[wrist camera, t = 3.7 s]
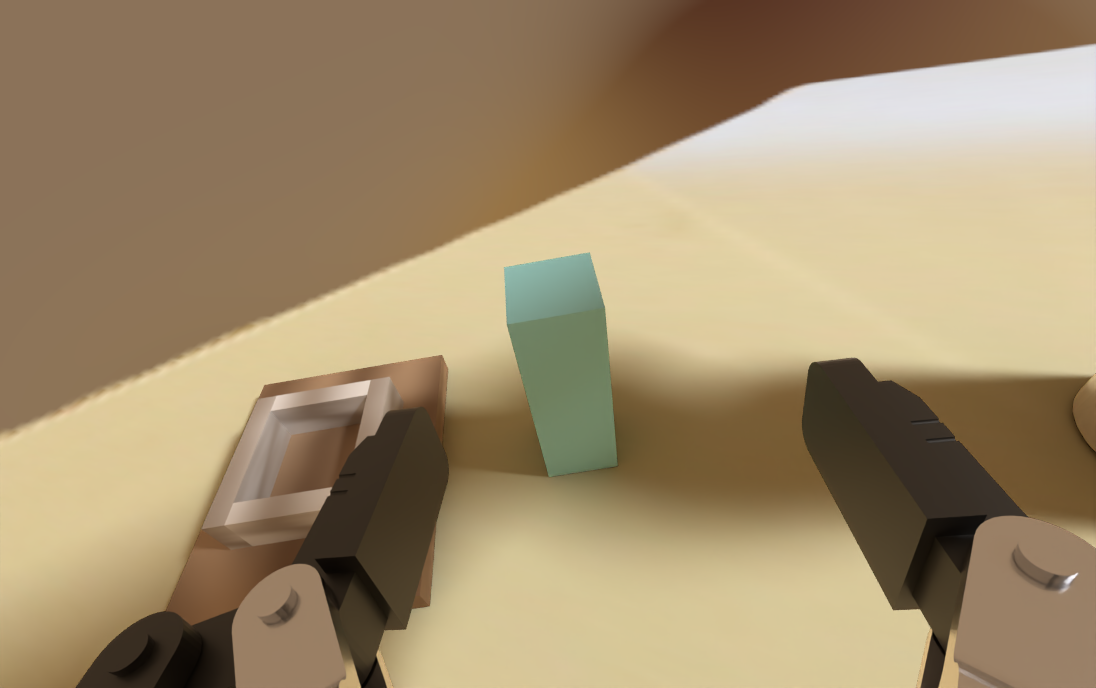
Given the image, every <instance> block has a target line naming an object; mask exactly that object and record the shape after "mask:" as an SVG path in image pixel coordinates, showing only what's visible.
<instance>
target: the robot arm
mask: <svg viewBox="0 0 1096 688" xmlns="http://www.w3.org/2000/svg"><path fill="white" fill-rule="evenodd" d="M1073 415H1074V418H1075V422H1076V425H1077V427H1078V429H1079V431H1080V432H1081V434H1082V435H1083V437H1084V439H1085V440H1086V442H1087V443H1088V444H1089V445H1090V446H1091V448H1092V449H1093V450H1094V451H1095V452H1096V373H1095V374H1094V375H1093V376H1092V377H1091V379H1090V380H1089V381H1088V382H1087V383H1086V384H1085V385H1084V386H1083V387H1082V388H1081V389H1080V390H1079V391H1078V393H1077V395H1076V397H1075V399H1074V401H1073ZM802 430H803V436H804V440H805V443H806V446H807V449H808V451H809V453H810V455H811V457H812V459H813V460H814V462H815V464H816V466H817V468H818V470H819V472H820V474H821V475H822V477H823V479H824V481H825V483H826V485H827V487H828V489H829V490H830V492H831V494H832V496H833V498H834V500H835V502H836V504H837V505H838V507H839V509H840V511H841V513H842V515H843V517H844V519H845V521H846V522H847V524H848V526H849V528H850V530H851V532H852V534H853V536H854V537H855V539H856V541H857V543H858V545H859V547H860V549H861V551H862V552H863V554H864V556H865V558H866V560H867V562H868V564H869V566H870V567H871V569H872V571H873V573H874V575H875V577H876V579H877V581H878V582H879V584H880V586H881V588H882V590H883V592H884V594H885V596H886V597H887V599H888V601H889V603H890V605H891V607H892V609H893V610H909V609H920V610H921V611H922V613H923V615H924V617H925V618H926V620H927V622H928V624H929V625H930V627H931V628H930V630H929V632H928V635H927V639H926V644H925V648H924V653H923V657H922V662H921V667H920V671H919V676H918V680H917V685H916V688H1096V548H1094V547H1093V546H1092V545H1090V544H1089V543H1087V542H1086V541H1085V540H1083V539H1081V538H1080V537H1078V536H1076V535H1074V534H1073V533H1071V532H1069V531H1067V530H1065V529H1062V528H1060V527H1058V526H1055V525H1053V524H1050V523H1048V522H1044V521H1041V520H1037V519H1033V518H1029V517H1028V516H1027V515H1026V514H1025V513H1024V512H1023V511H1022V510H1021V509H1020V508H1019V507H1018V506H1017V505H1016V504H1015V503H1014V501H1013V500H1012V499H1011V498H1010V497H1009V496H1008V495H1007V494H1006V493H1005V491H1004V490H1003V489H1002V488H1001V487H1000V486H999V485H998V484H997V483H996V481H995V480H994V479H993V478H992V477H991V476H990V475H989V474H988V473H987V472H986V470H985V469H984V468H983V467H982V466H981V465H980V464H979V463H978V462H977V460H976V459H975V458H974V457H973V456H972V455H971V454H970V453H969V452H968V450H967V449H966V448H965V447H964V446H963V445H962V444H961V443H960V442H959V441H956V440H955V436H954V435H953V434H952V433H951V432H950V430H949V429H948V428H947V427H946V426H945V425H944V424H943V423H940V422H939V418H938V417H937V416H936V415H935V414H934V413H933V412H932V411H931V409H930V408H929V407H928V406H927V405H926V404H925V403H924V402H923V401H922V399H921V398H920V397H918V396H917V395H915V394H913V393H911V392H910V391H908V390H906V389H905V388H903V387H901V386H900V385H898V384H896V383H895V382H893V381H882V382H877V380H876V379H875V378H874V377H873V375H872V374H871V373H870V372H869V371H868V369H867V368H866V367H865V366H864V365H863V363H862V362H861V361H860V360H858V359H857V358H846V359H838V360H829V361H820V362H813V363H812V364H811V365H810V367H809V370H808V377H807V385H806V393H805V401H804V408H803V416H802ZM448 474H449V468H448V460H447V456H446V453H445V451H444V448H443V446H442V444H441V441H440V439H439V437H438V435H437V432H436V430H435V428H434V425H433V423H432V421H431V418H430V416H429V414H428V412H427V410H426V409H425V408H424V407H414V408H406V409H397V410H390V411H388V412H387V413H386V414H385V415H384V417H383V419H382V421H381V423H380V425H379V428H378V430H377V432H376V434H375V435H372V436H367V437H366V438H365V439H364V440H363V441H362V442H361V443H360V444H359V445H358V446H357V447H356V448H355V449H354V450H353V451H352V452H351V454H350V455H349V456H348V458H347V460H346V462H345V464H344V466H343V468H342V470H341V472H340V474H339V479H336V481H335V483H334V485H333V487H332V489H331V491H330V496H327V498H326V500H325V502H324V504H323V506H322V508H321V510H320V512H319V514H318V515H317V517H316V519H315V521H314V523H313V525H312V527H311V529H310V531H309V533H308V534H307V536H306V538H305V540H304V542H303V544H302V546H301V548H300V550H299V552H298V554H297V555H296V557H295V559H294V561H293V563H292V564H291V565H290V566H286V567H284V568H281V569H279V570H277V571H275V572H273V573H272V574H270V575H269V576H267V577H266V578H264V579H263V580H262V581H261V582H259V583H258V584H257V585H256V586H255V587H254V588H253V589H252V590H251V591H250V592H249V594H248V595H247V596H246V597H245V599H244V600H243V601H242V603H241V604H240V606H239V608H237V609H234V610H231V611H229V612H226V613H223V614H221V615H218V616H215V617H213V618H210V619H207V620H205V621H202V622H199V623H197V624H194V625H192V626H191V625H190V624H189V623H188V622H186V621H185V620H184V619H183V618H182V617H181V616H180V615H178V614H176V613H175V612H170V611H165V612H159V613H155V614H152V615H149V616H147V617H145V618H143V619H141V620H139V621H138V622H136V623H134V624H133V625H131V626H130V627H128V628H127V629H125V630H124V631H123V632H122V633H120V634H119V635H118V636H117V637H116V638H115V639H114V640H113V641H111V642H110V643H109V644H108V645H107V647H106V648H105V649H104V650H103V651H102V652H101V653H100V655H99V656H98V657H97V658H96V660H95V661H94V662H93V664H92V665H91V667H90V668H89V669H88V671H87V672H86V674H85V675H84V677H83V678H82V679H81V681H80V682H79V684H78V685H77V686H76V688H393V685H392V682H391V679H390V677H389V674H388V671H387V668H386V665H385V662H384V659H383V656H382V654H381V652H380V650H379V649H378V648H379V645H380V641H381V638H382V635H383V632H384V630H402V629H406V627H407V624H408V620H409V617H410V613H411V610H412V606H413V602H414V599H415V595H416V592H417V588H418V585H419V581H420V578H421V574H422V571H423V567H424V564H425V560H426V556H427V553H428V549H429V546H430V542H431V539H432V535H433V532H434V528H435V525H436V521H437V518H438V514H439V510H440V507H441V503H442V500H443V496H444V493H445V489H446V486H447V482H448Z"/></svg>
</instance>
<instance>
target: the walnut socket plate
mask: <svg viewBox="0 0 1096 688" xmlns="http://www.w3.org/2000/svg"><path fill="white" fill-rule="evenodd" d="M447 377H448V368H447V365H446V363H445V361H444V358H443V356H442V355H439V356H433V357H427V358H421V359H416V360H410V361H404V362H398V363H392V364H386V365H380V366H374V367H368V368H363V369H357V370H351V371H345V372H339V373H333V374H327V375H321V376H315V377H310V378H304V379H298V380H292V381H286V382H280V383H274V384H268V385H264V387H263V390H262V392H261V394H260V397H259V399H258V400H257V402H256V405H255V407H254V409H253V412H252V414H251V416H250V418H249V421H248V423H247V425H246V428H245V430H244V432H243V434H242V437H241V439H240V441H239V443H238V446H237V448H236V450H235V453H234V455H233V457H232V459H231V462H230V464H229V466H228V469H227V471H226V473H225V475H224V478H223V480H222V482H221V485H220V487H219V489H218V491H217V494H216V496H215V498H214V501H213V503H212V505H211V507H210V510H209V512H208V514H207V516H206V519H205V521H204V523H203V526H202V528H201V531H200V534H199V536H198V538H197V540H196V543H195V545H194V547H193V550H192V552H191V554H190V556H189V559H188V561H187V563H186V566H185V568H184V570H183V572H182V575H181V577H180V579H179V582H178V584H177V586H176V588H175V591H174V593H173V595H172V598H171V600H170V602H169V604H168V607H167V609H166V611H170V612H175V613H176V614H178V615H180V616H181V617H182V618H183V619H184V620H185V621H186V622H188V623H189V624H190V625H191V626H192V625H194V624H197V623H199V622H202V621H205V620H207V619H210V618H213V617H215V616H218V615H221V614H223V613H226V612H229V611H231V610H234V609H237V608H239V606H240V604H241V603H242V601H243V600H244V599H245V597H246V596H247V595H248V594H249V592H250V591H251V590H252V589H253V588H254V587H255V586H256V585H257V584H258V583H259V582H261V581H262V580H263V579H264V578H266V577H267V576H269V575H270V574H272V573H273V572H275V571H277V570H279V569H281V568H284V567H286V566H290V565H291V564H292V563H293V561H294V559H295V557H296V555H297V554H298V552H299V550H300V548H301V546H302V544H303V542H304V540H305V538H306V536H307V534H308V533H309V531H310V529H311V527H312V525H313V523H314V521H315V519H316V517H317V515H318V514H319V512H320V510H321V508H322V506H323V504H324V502H325V500H326V498H327V496H330V491H331V489H332V487H333V485H334V483H335V481H336V479H339V474H340V472H341V470H342V468H343V466H344V464H345V462H346V460H347V458H348V456H349V455H350V454H351V452H352V451H353V450H354V449H355V448H356V447H357V446H358V445H359V444H360V443H361V442H362V441H363V440H364V439H365V438H366V437H367V436H372V435H375V434H376V432H377V430H378V428H379V425H380V423H381V421H382V419H383V417H384V415H385V414H386V413H387V412H388V411H390V410H397V409H406V408H414V407H424V408H425V409H426V410H427V412H428V414H429V416H430V418H431V421H432V423H433V425H434V428H435V430H436V432H437V435H438V437H439V439H440V441H441V444H442V442H443V429H444V416H445V403H446V390H447ZM435 533H436V525H435V528H434V532H433V535H432V539H431V542H430V546H429V549H428V553H427V556H426V560H425V564H424V567H423V571H422V574H421V578H420V581H419V585H418V588H417V592H416V595H415V599H414V602H413V606H412V609H414V608H420V607H427V606H430V597H431V584H432V571H433V558H434V546H435Z"/></svg>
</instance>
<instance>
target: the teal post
mask: <svg viewBox="0 0 1096 688" xmlns="http://www.w3.org/2000/svg"><path fill="white" fill-rule="evenodd" d="M504 274H505V295H506V316H507V327H508V330H509V334H510V338H511V341H512V345H513V349H514V352H515V356H516V359H517V363H518V367H519V370H520V374H521V378H522V381H523V385H524V388H525V392H526V396H527V399H528V403H529V407H530V410H531V414H532V417H533V421H534V425H535V428H536V432H537V436H538V439H539V443H540V447H541V450H542V454H543V457H544V461H545V465H546V468H547V472H548V476H549V477H553V476H559V475H565V474H571V473H578V472H584V471H590V470H597V469H603V468H609V467H615V466H618V464H617V451H616V439H615V426H614V414H613V401H612V389H611V377H610V364H609V352H608V339H607V327H606V314H605V306H604V303H603V299H602V295H601V292H600V288H599V284H598V281H597V277H596V274H595V270H594V266H593V263H592V259H591V256H590V253H584V254H578V255H572V256H567V257H561V258H555V259H550V260H544V261H538V262H532V263H527V264H521V265H515V266H509V267H504Z"/></svg>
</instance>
